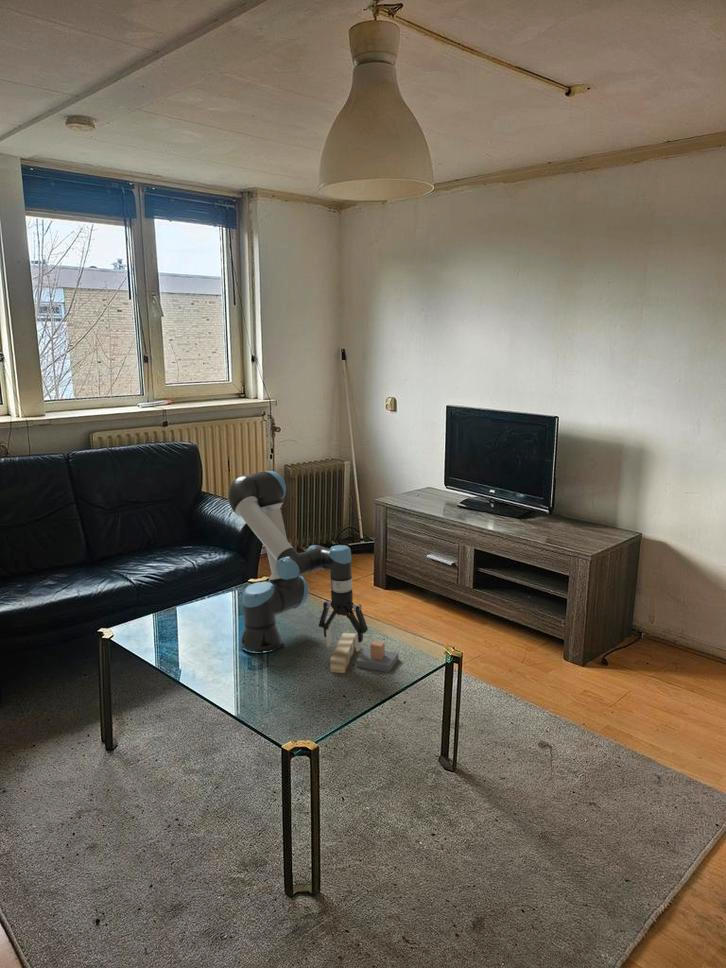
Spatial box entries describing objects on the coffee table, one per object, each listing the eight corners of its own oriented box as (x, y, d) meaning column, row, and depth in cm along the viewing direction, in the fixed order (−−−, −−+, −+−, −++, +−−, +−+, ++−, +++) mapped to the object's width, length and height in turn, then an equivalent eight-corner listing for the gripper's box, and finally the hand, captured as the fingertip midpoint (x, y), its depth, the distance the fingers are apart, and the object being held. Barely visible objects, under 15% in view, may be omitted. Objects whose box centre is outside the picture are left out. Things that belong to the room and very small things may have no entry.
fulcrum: (356, 666, 239) (356, 646, 238) (367, 654, 248) (366, 635, 247) (389, 672, 235) (388, 651, 233) (398, 659, 244) (398, 639, 242)
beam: (344, 673, 236) (344, 660, 235) (330, 672, 236) (330, 659, 235) (356, 645, 257) (356, 633, 256) (343, 645, 258) (343, 632, 257)
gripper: (307, 589, 242) (309, 647, 247) (368, 596, 234) (370, 656, 238) (316, 582, 249) (318, 639, 253) (376, 589, 240) (377, 647, 245)
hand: (343, 647), depth 246 cm, fingers open, 11 cm apart
